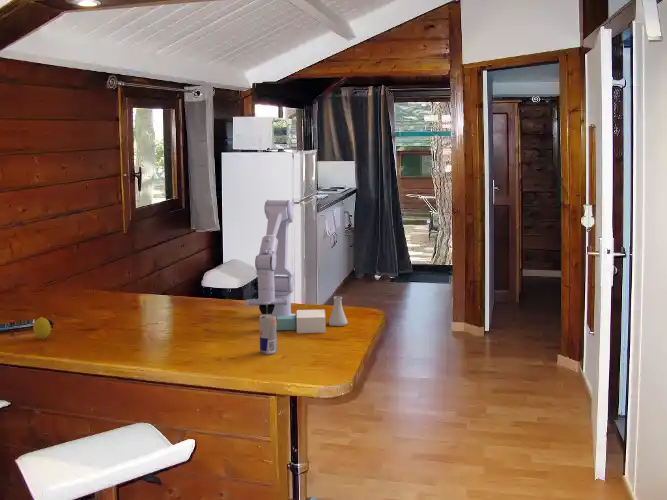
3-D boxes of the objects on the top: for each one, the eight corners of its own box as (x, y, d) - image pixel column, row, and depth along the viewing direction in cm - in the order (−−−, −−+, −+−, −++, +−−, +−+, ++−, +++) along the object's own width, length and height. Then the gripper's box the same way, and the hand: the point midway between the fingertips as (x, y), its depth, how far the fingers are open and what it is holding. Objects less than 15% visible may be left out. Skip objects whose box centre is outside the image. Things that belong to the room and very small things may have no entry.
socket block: (295, 333, 261) (295, 317, 260) (296, 324, 272) (295, 310, 271) (325, 332, 262) (325, 317, 261) (324, 324, 273) (324, 309, 272)
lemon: (54, 338, 260) (53, 315, 258) (43, 342, 255) (42, 319, 253) (41, 336, 261) (40, 314, 260) (30, 341, 256) (28, 318, 255)
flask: (347, 327, 269) (347, 299, 267) (327, 326, 269) (326, 299, 268) (348, 321, 276) (348, 295, 274) (329, 321, 276) (328, 294, 275)
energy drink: (260, 350, 243) (259, 314, 240) (276, 349, 243) (275, 313, 241) (259, 355, 237) (258, 318, 235) (277, 354, 238) (276, 317, 236)
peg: (277, 330, 265) (276, 319, 264) (277, 327, 268) (277, 316, 268) (299, 329, 265) (299, 318, 264) (299, 326, 269) (299, 315, 268)
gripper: (244, 290, 260) (246, 328, 262) (286, 289, 260) (287, 327, 262) (246, 286, 267) (247, 323, 269) (287, 285, 267) (288, 322, 269)
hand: (267, 325), depth 266 cm, fingers closed
